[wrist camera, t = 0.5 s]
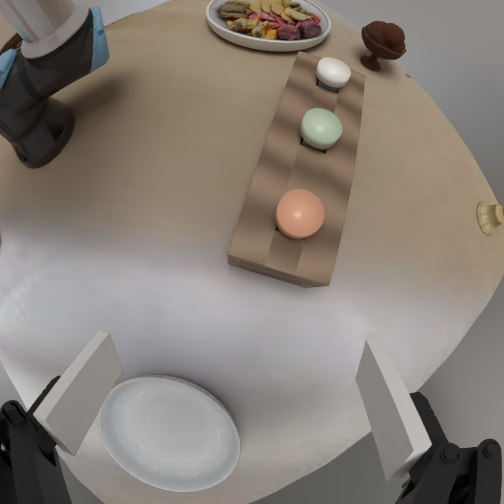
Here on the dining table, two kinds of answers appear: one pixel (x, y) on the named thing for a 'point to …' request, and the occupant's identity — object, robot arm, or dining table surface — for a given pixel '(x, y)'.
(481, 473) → the robot arm
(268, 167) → the console
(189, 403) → the serving bowl
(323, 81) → the cream button
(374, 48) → the ice cream bowl
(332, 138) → the sage button
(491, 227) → the hand bell
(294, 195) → the terracotta button
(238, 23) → the bowl
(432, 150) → the dining table surface
